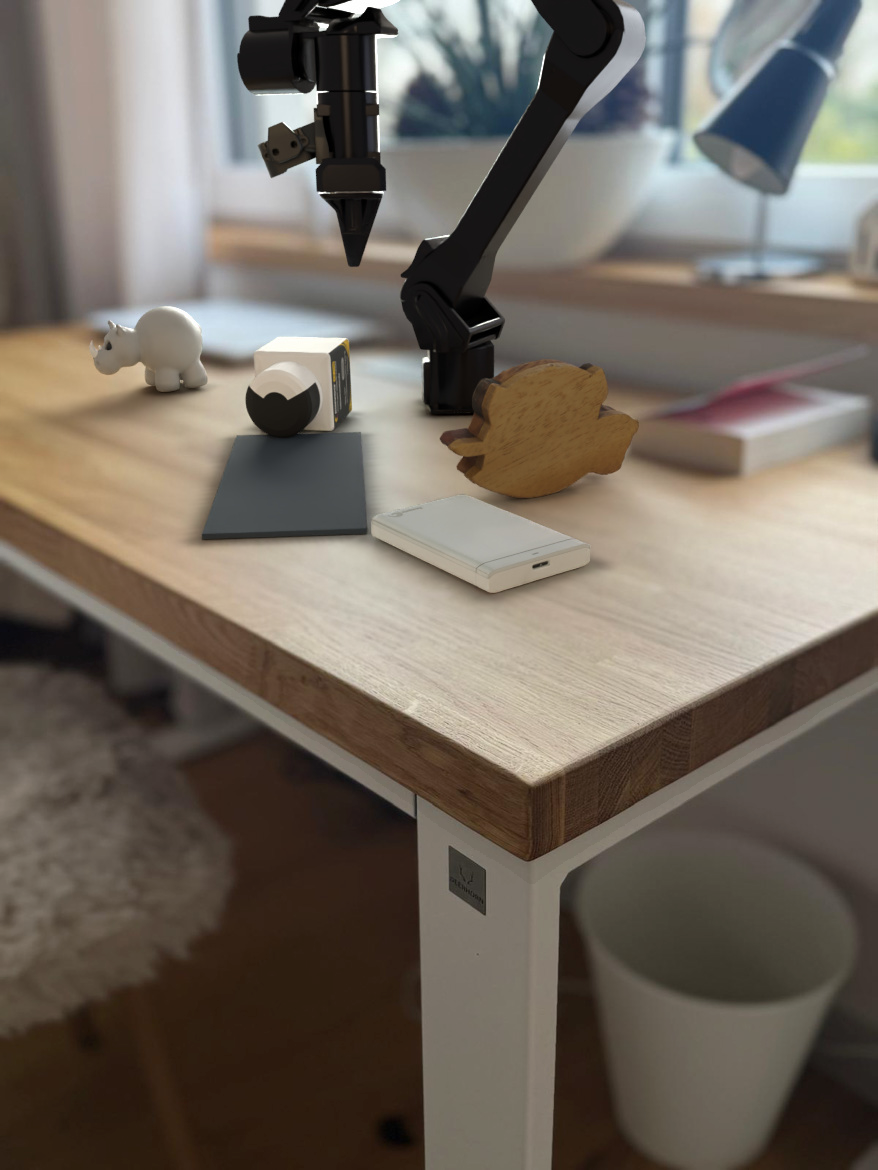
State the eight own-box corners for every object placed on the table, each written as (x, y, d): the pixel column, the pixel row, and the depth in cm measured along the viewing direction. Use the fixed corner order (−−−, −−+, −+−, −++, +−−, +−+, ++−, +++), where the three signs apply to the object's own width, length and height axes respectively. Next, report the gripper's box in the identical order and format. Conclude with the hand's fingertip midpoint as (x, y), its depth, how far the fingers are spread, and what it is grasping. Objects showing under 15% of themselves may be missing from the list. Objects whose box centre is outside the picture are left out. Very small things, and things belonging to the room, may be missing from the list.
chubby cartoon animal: (86, 390, 115) (75, 309, 112) (194, 377, 121) (186, 299, 118) (104, 403, 110) (93, 317, 106) (216, 389, 115) (209, 307, 112)
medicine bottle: (353, 411, 105) (318, 448, 94) (282, 408, 106) (240, 444, 95) (349, 337, 102) (313, 366, 91) (277, 335, 103) (232, 363, 92)
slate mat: (360, 436, 97) (360, 431, 97) (367, 533, 73) (367, 528, 73) (236, 439, 96) (236, 435, 96) (202, 539, 72) (201, 533, 72)
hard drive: (370, 515, 71) (488, 569, 62) (467, 492, 76) (591, 539, 67) (371, 539, 72) (488, 596, 63) (467, 514, 77) (590, 564, 67)
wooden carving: (600, 467, 87) (607, 342, 83) (640, 480, 84) (648, 351, 80) (429, 503, 79) (428, 366, 75) (465, 520, 75) (465, 377, 71)
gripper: (266, 97, 109) (276, 258, 115) (252, 89, 91) (265, 279, 97) (377, 96, 109) (381, 256, 115) (383, 88, 92) (388, 277, 98)
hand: (353, 266), depth 107 cm, fingers closed
